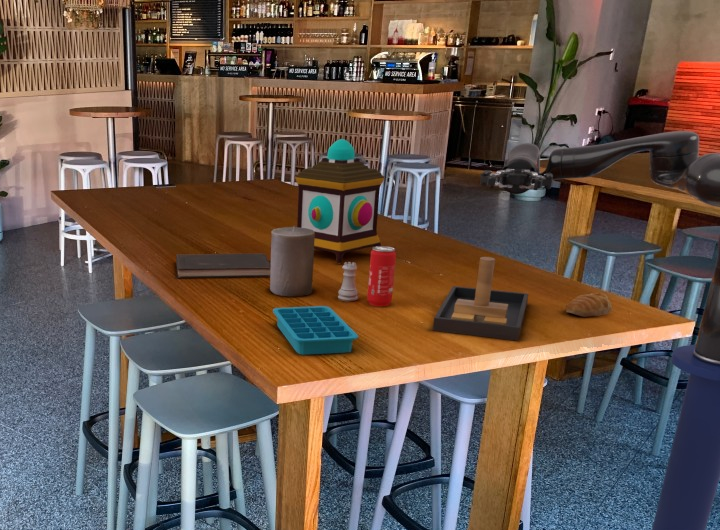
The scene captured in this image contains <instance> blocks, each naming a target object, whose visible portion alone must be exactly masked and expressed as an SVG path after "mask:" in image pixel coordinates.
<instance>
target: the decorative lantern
mask: <svg viewBox="0 0 720 530" xmlns="http://www.w3.org/2000/svg"><path fill="white" fill-rule="evenodd" d="M355 155H356V152H355V148H354V147H353V145H352V144H351V143H350V142H349V141H348V140H346V139H343V138H340V139H337V140H336V141H335V142H333V143H332V144H331V146H329V148H328V150H327V156H326V157H322V158H321V161H318V162H317V164H315V165H313V166H312V167H307V168H304V169H302V171H299V172H298V174H296V175H294V178H295V182H296V184H297V187H298V195H297V196H298V197H297V198H298V199H297V219H296V220H297V222H296V223H297V224H296V225H297V226H296V227H299V228H307V229H311V230H313V231H314V232H315V240H314V250H319V251H325V252H328V253H333V254H334V255H335V257H336V258H335V259H336V263H337V264H338V265H341V264H342V262H343V260H344V259H343V258H344V255H345V254H347V253H350V252H351V253H352V252H354V251H355V252H356V251H359V250H364V249H367V248H368V249H369V248H373V247H378V246H382V243H381V240H380V238H379V235H378V232H377V230H378V229H377V227H378V217H379V203H380V190H381V187H382V184H383V182H384V181H385V177H386V176H385V175H383V174H382V172H379V171H378V169H377V168H371V167H369V166H368V165H366V164H365V162H363V161H360V160H361V158H360V157H356V156H355Z"/></svg>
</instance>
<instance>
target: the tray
mask: <svg viewBox="0 0 720 530" xmlns="http://www.w3.org/2000/svg"><path fill="white" fill-rule="evenodd" d="M475 293H476V287H466V286H457V285H453V286H452V287H451V289H450V291H449V292H448V294H447V295H446V297H445V298H444V300H443V302H442V304H441V305H440V307H439V309H438V311H437V312H436V314H435V316H434V317H433V325H432V331H434V332H443V333H450V334H458V335H466V336H467V335H468V336H475V337H483V338H491V339H499V340H508V341H514V342H519V339H520V334H521V330H522V327H523V322H524V318H525V314H526V310H527V306H528V300H529V293H528V292H526V293H525V292H517V291H516V292H515V291H507V290H495V289H491V295H490V302H493V303H502V304H508V310H507V315H506V318H507V323H506V325H502V324H493V323H485V322H476V321H467V320H459V319H451V317H452V315H453V313H454V307H455V303H456V301H457V299H464V300H475Z"/></svg>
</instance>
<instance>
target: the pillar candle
mask: <svg viewBox="0 0 720 530" xmlns="http://www.w3.org/2000/svg"><path fill="white" fill-rule="evenodd" d="M270 233H271V239H270V240H271V241H270V244H271V246H270V264H271V272H270V273H271V274H270V277H269V279H270V280H269V281H270V284H269V290H270V292H272V293H273V294H274V295H276V296H281V297H303V296H309V295H311V294H312V293H313V278H314V275H313V274H314V261H315V260H314V258H315V249H314V240H315V232H314V231H313V230H311V229H307V228H299V227H297V226H295V225H293V226H285V227H277V228H274V229H272V230H271V232H270Z"/></svg>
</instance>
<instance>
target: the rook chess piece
mask: <svg viewBox="0 0 720 530" xmlns="http://www.w3.org/2000/svg"><path fill="white" fill-rule="evenodd" d="M341 268H342V270H343V273H342V275H343V279H342V284H341V286H340V289H339V290H338V292H337V293H338V295H337V298H338V300H339V301H342V302H355V301H357V300H358V299H359V296H358V295H359V291H358V290H357V287H356V276H357V274H356V271H357V270H358V266H357V263H356V262H351V261H348V262H347V261H345V262H344V263H343V265H342V267H341Z"/></svg>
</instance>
